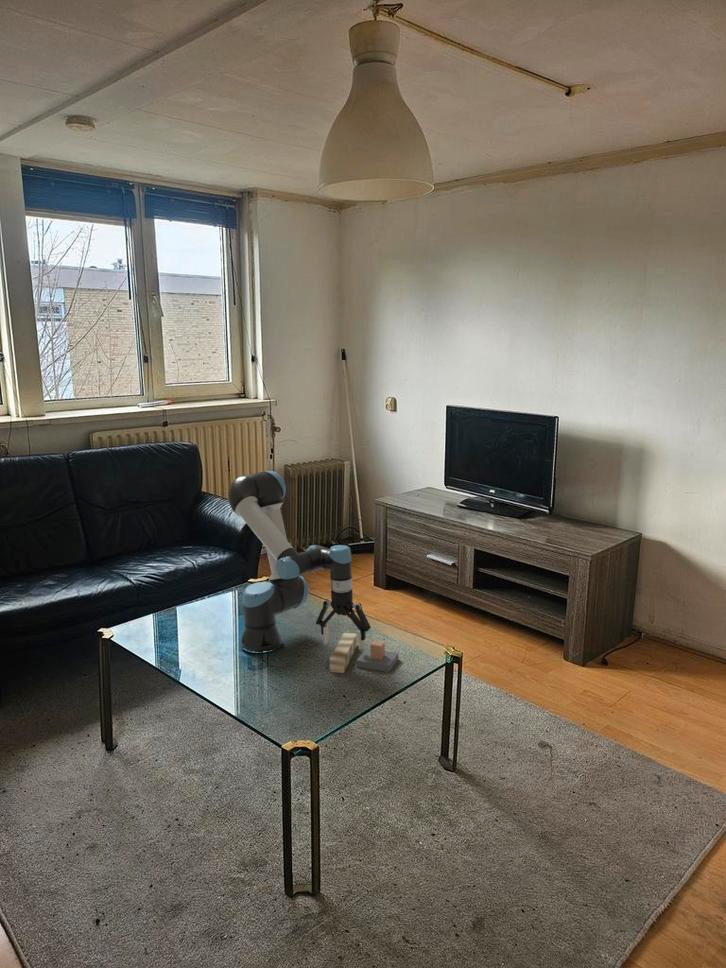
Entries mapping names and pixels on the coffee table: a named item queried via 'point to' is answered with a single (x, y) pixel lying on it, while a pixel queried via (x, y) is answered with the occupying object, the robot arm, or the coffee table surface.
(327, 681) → the coffee table surface
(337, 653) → the beam
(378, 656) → the fulcrum
